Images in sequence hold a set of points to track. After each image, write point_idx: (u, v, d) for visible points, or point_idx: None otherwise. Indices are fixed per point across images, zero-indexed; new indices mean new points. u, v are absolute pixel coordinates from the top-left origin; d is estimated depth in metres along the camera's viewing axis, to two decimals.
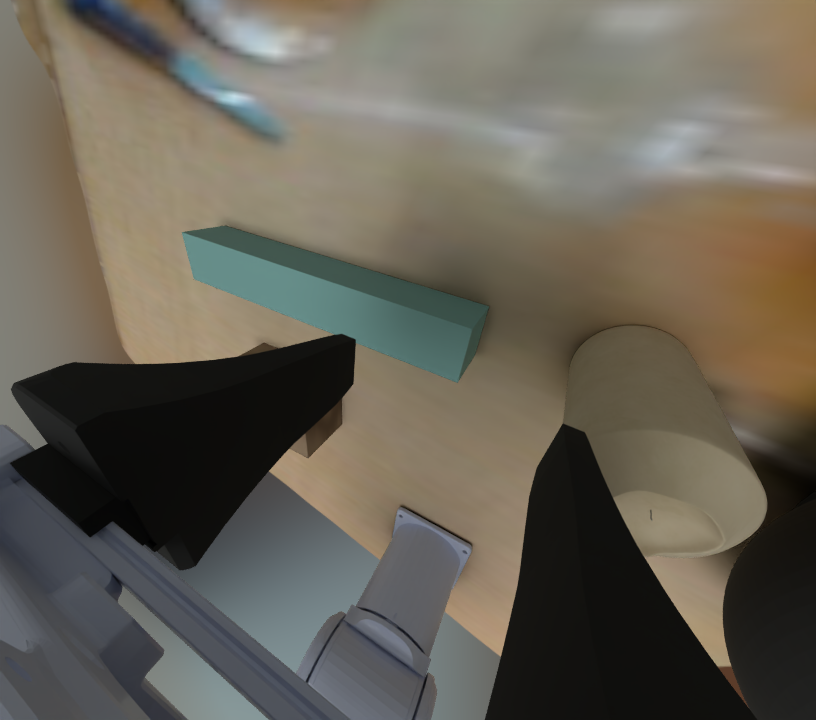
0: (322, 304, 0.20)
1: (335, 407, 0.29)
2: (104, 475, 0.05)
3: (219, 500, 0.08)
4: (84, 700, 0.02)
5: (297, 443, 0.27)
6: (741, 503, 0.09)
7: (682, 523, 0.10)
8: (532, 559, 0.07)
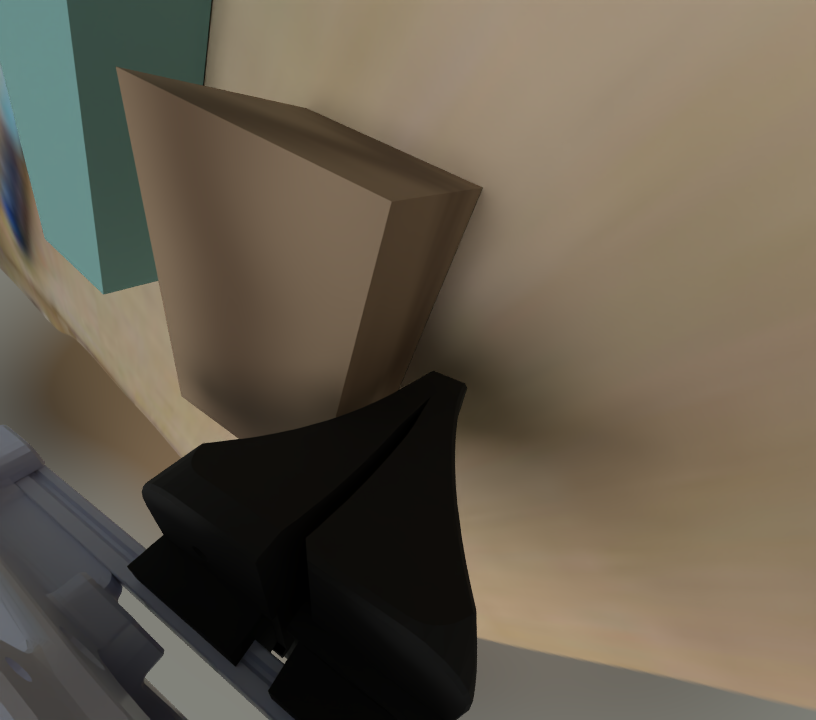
0: None
1: (373, 145, 0.08)
2: (265, 601, 0.04)
3: None
4: (83, 701, 0.02)
5: (314, 232, 0.06)
6: None
7: None
8: None
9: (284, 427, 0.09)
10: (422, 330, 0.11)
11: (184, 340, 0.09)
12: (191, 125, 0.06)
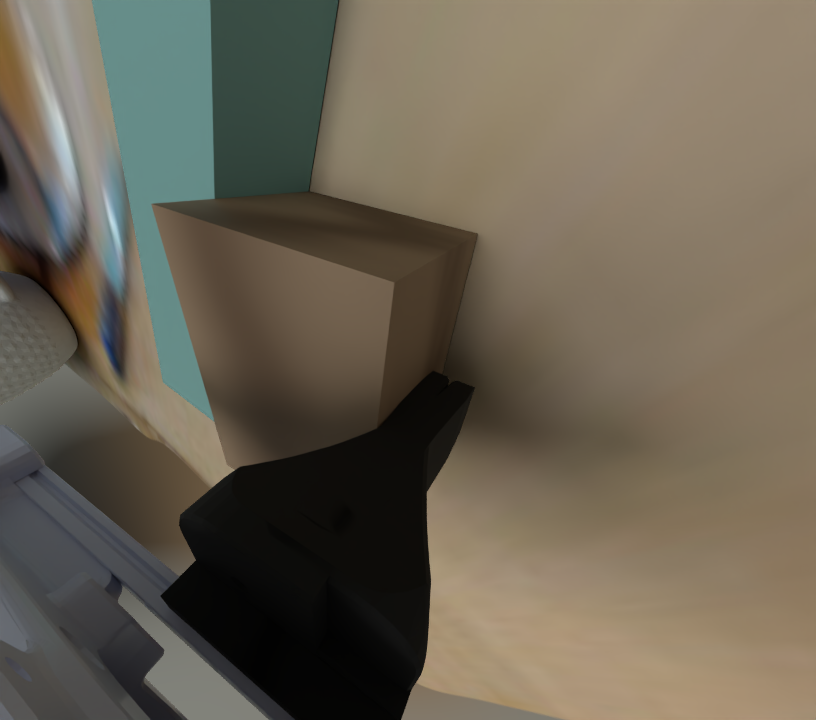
0: (148, 39, 0.07)
1: (371, 215, 0.09)
2: (313, 638, 0.04)
3: None
4: (84, 700, 0.02)
5: (329, 314, 0.06)
6: None
7: None
8: None
9: None
10: (442, 369, 0.12)
11: (225, 415, 0.10)
12: (215, 240, 0.07)
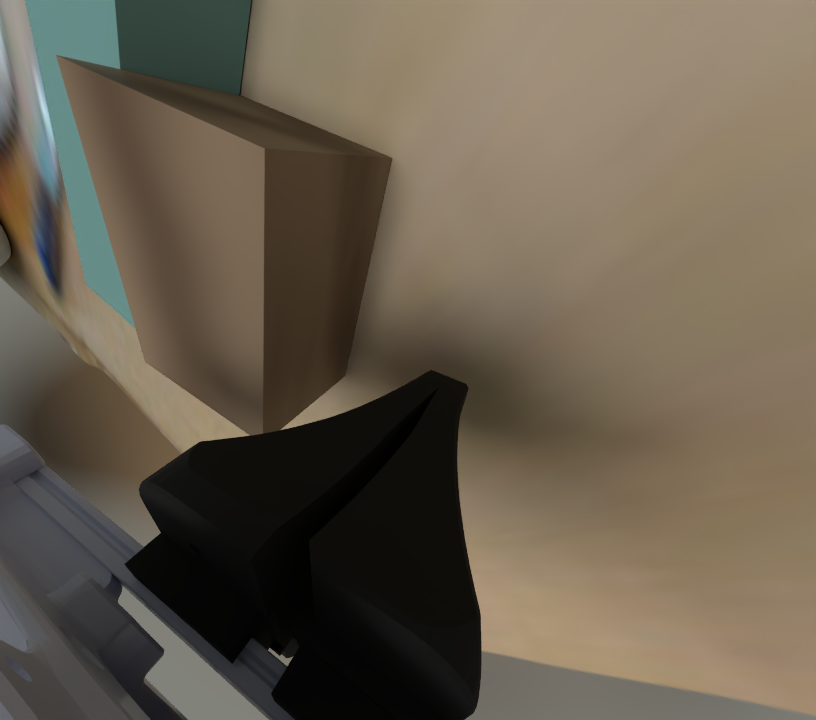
0: None
1: (296, 123, 0.09)
2: (261, 596, 0.04)
3: None
4: (83, 700, 0.02)
5: (217, 184, 0.07)
6: None
7: None
8: None
9: (228, 377, 0.10)
10: None
11: (140, 304, 0.10)
12: (117, 100, 0.07)
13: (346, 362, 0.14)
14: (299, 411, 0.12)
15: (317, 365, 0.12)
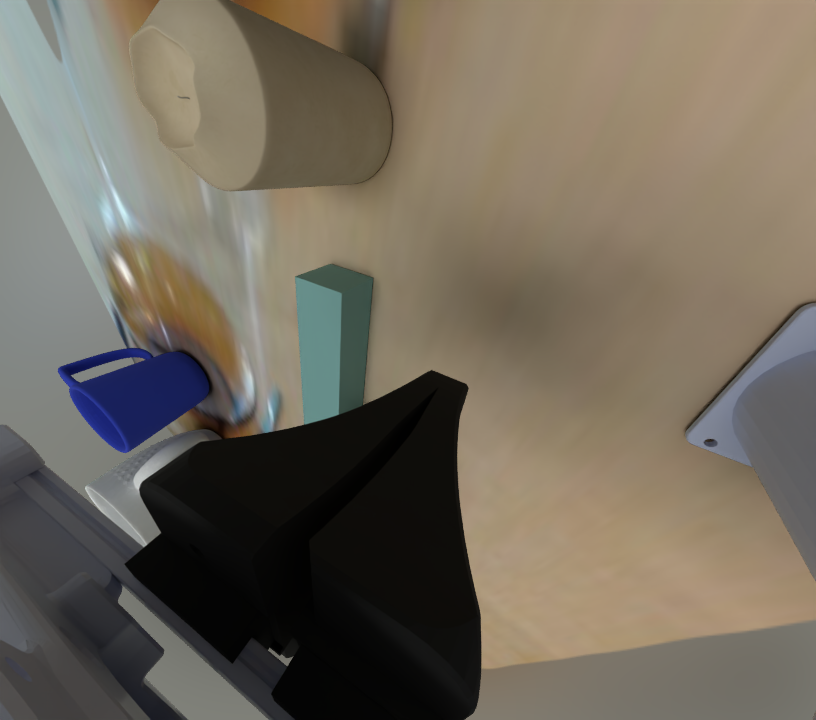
0: (319, 400, 0.25)
1: None
2: (262, 597, 0.04)
3: None
4: (83, 700, 0.02)
5: None
6: None
7: (179, 65, 0.10)
8: None
9: None
10: None
11: None
12: None
13: None
14: None
15: None
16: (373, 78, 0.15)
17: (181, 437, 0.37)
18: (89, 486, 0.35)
